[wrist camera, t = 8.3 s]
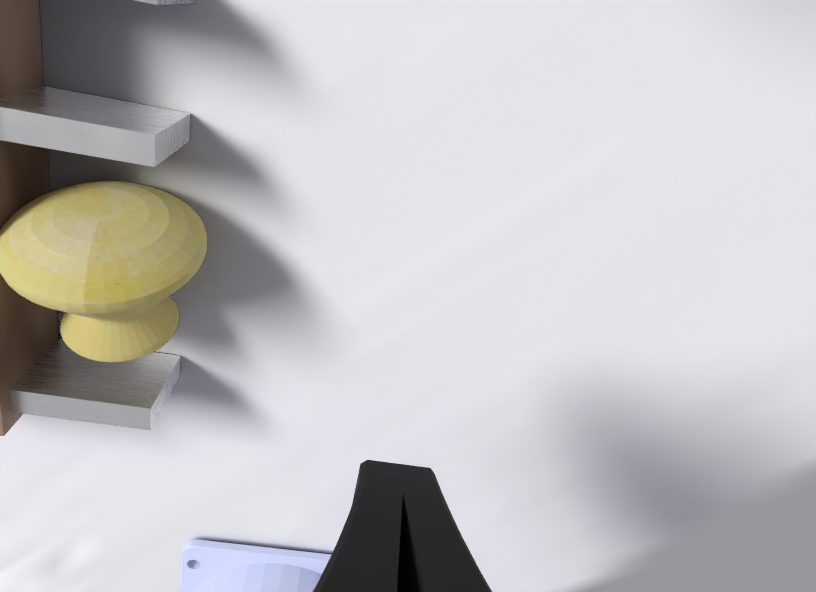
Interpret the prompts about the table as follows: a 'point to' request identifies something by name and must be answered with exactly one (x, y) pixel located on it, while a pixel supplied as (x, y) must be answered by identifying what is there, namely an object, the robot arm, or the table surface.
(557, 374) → the table surface
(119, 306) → the knob
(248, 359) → the table surface
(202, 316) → the table surface
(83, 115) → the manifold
